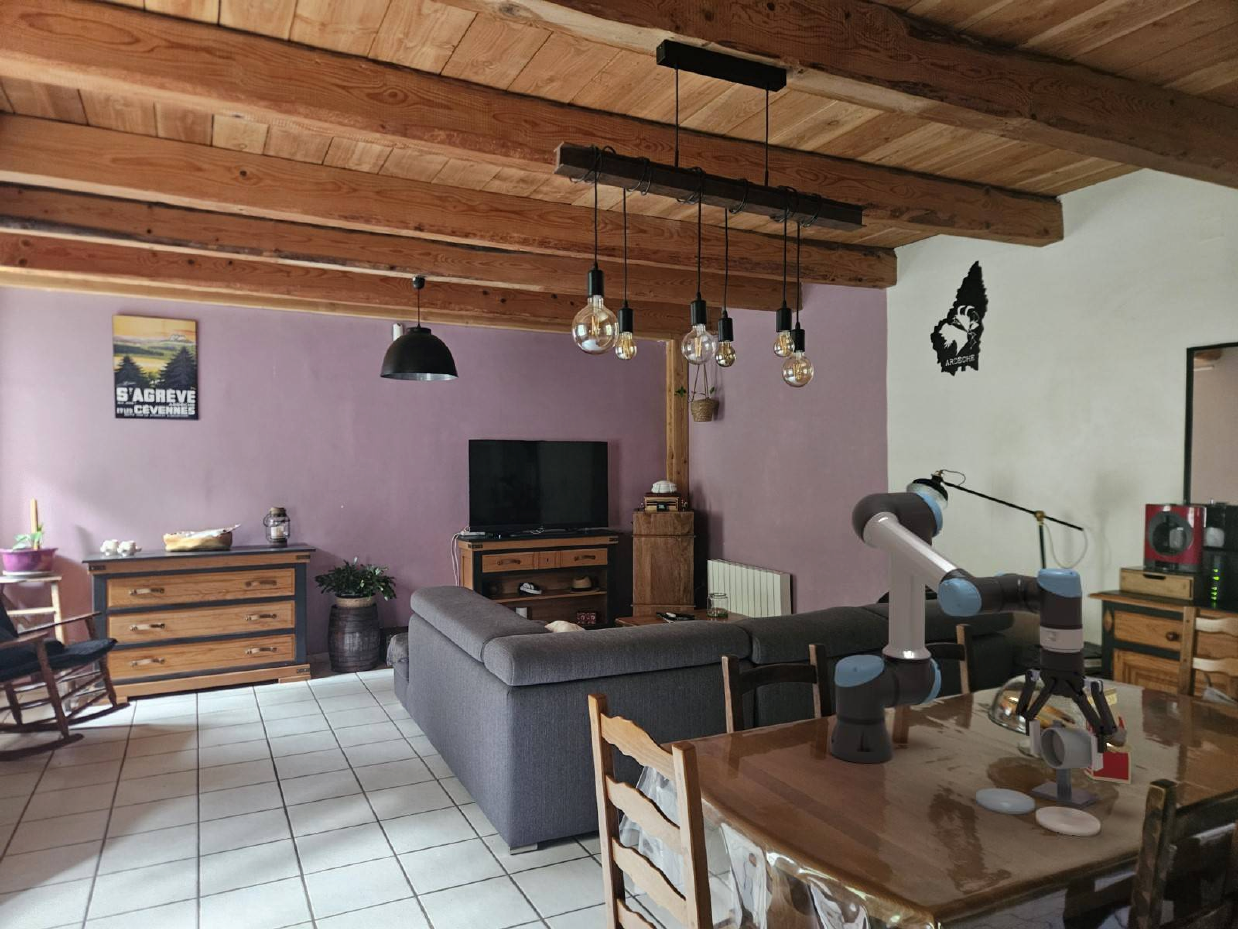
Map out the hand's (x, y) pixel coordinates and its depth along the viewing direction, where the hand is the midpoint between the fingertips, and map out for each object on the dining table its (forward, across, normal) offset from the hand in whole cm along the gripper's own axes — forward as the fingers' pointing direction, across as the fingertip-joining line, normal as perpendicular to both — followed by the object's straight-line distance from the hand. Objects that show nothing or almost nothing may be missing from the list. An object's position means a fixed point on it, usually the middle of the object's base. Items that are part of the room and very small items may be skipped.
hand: (1065, 761), depth 157 cm
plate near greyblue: (+12, -13, 0) cm, 18 cm away
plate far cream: (+12, 0, 0) cm, 12 cm away
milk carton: (+12, -7, +33) cm, 36 cm away
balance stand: (+12, -7, +13) cm, 19 cm away
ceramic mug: (+1, 0, 0) cm, 1 cm away
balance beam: (-3, -7, +13) cm, 15 cm away
